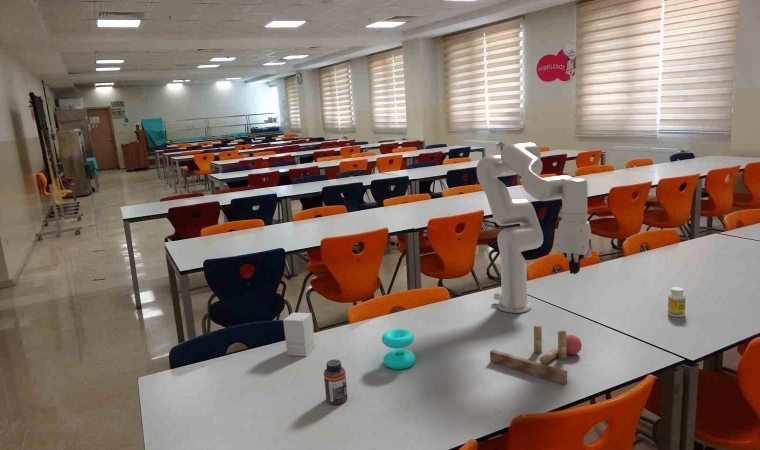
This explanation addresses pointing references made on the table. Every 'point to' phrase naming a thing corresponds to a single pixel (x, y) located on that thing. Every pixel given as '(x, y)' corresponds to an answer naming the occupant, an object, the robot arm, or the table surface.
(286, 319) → the supplement box
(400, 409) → the table surface
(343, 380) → the supplement bottle
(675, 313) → the supplement bottle
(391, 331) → the donuts
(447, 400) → the table surface
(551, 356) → the front pin
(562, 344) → the right back pin
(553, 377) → the back wall
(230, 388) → the table surface
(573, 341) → the ball
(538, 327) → the left back pin
